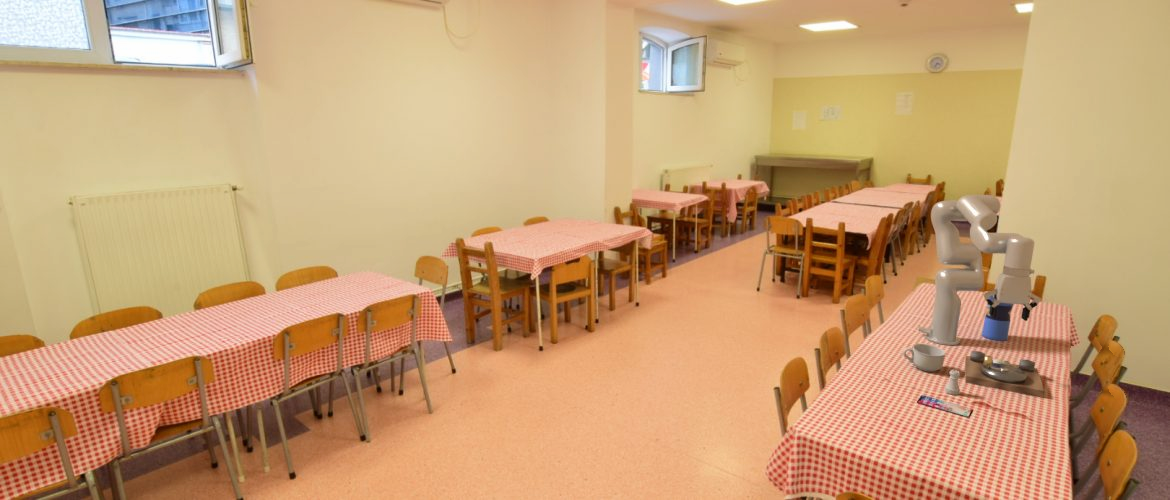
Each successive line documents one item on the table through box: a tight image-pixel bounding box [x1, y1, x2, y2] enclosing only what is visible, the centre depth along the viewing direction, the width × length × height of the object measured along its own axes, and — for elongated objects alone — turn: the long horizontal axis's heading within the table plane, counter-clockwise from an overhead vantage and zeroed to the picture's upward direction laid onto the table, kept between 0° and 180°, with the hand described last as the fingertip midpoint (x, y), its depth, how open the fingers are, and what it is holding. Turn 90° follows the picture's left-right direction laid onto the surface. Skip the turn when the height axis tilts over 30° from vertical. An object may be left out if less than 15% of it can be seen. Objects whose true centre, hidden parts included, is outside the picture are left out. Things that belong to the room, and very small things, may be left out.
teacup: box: [902, 343, 946, 373], centre depth 216 cm, size 14×11×8 cm
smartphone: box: [916, 395, 974, 418], centre depth 187 cm, size 8×1×15 cm
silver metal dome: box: [981, 355, 1027, 384], centre depth 203 cm, size 13×13×6 cm
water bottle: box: [981, 295, 1015, 342], centre depth 245 cm, size 9×9×25 cm
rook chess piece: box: [944, 369, 961, 396], centre depth 196 cm, size 4×4×8 cm
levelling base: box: [964, 350, 1045, 399], centre depth 207 cm, size 22×22×6 cm
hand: (1008, 318), depth 204 cm, fingers open, 9 cm apart
